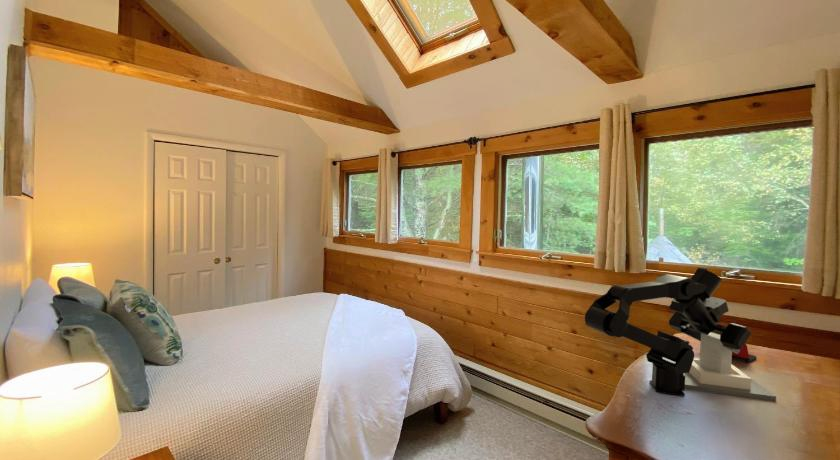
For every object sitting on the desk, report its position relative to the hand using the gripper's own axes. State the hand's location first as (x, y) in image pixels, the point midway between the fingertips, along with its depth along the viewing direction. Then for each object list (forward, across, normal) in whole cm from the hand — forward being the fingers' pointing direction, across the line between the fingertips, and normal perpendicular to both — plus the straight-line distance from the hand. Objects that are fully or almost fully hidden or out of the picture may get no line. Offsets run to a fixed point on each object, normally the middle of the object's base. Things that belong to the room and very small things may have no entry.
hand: (720, 346), depth 104 cm
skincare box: (+5, 0, +7) cm, 9 cm away
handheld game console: (+24, +13, -10) cm, 29 cm away
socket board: (+6, 0, +8) cm, 10 cm away
